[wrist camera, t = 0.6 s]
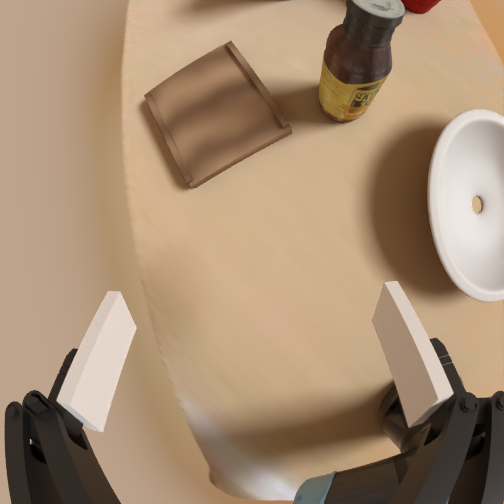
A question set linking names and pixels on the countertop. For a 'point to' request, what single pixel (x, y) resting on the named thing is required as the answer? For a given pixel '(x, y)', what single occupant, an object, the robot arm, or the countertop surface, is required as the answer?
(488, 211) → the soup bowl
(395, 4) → the sauce bottle
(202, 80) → the board
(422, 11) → the plastic cup
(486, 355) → the countertop surface
